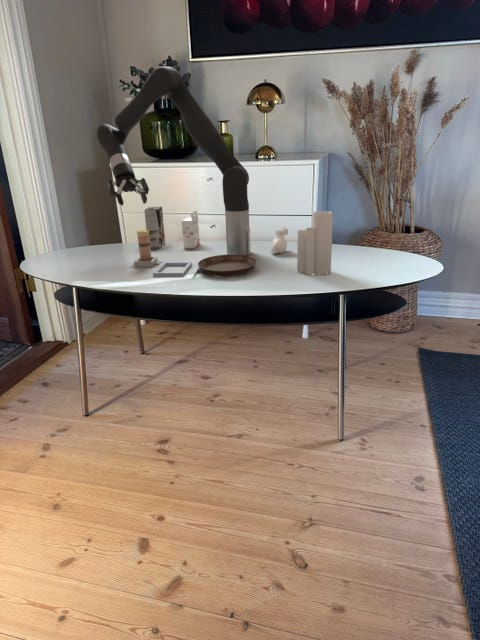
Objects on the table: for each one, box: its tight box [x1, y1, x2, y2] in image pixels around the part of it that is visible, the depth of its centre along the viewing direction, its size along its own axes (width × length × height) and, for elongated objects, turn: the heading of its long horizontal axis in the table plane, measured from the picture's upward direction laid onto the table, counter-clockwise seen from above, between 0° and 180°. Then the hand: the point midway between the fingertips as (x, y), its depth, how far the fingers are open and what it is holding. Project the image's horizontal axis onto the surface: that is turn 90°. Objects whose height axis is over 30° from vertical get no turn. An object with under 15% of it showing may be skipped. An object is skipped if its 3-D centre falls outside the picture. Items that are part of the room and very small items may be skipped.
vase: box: [296, 210, 334, 276], centre depth 159 cm, size 11×7×20 cm, turn 83°
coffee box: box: [144, 206, 166, 249], centre depth 207 cm, size 9×6×16 cm
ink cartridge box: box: [180, 209, 201, 249], centre depth 204 cm, size 9×5×15 cm, turn 168°
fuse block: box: [129, 256, 163, 269], centre depth 174 cm, size 10×8×4 cm
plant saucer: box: [197, 254, 258, 278], centre depth 168 cm, size 21×21×3 cm
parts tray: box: [152, 261, 193, 278], centre depth 165 cm, size 10×14×3 cm
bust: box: [269, 226, 289, 255], centre depth 189 cm, size 12×8×11 cm
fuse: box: [136, 229, 152, 261], centre depth 172 cm, size 4×4×12 cm
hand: (133, 203), depth 176 cm, fingers open, 8 cm apart
